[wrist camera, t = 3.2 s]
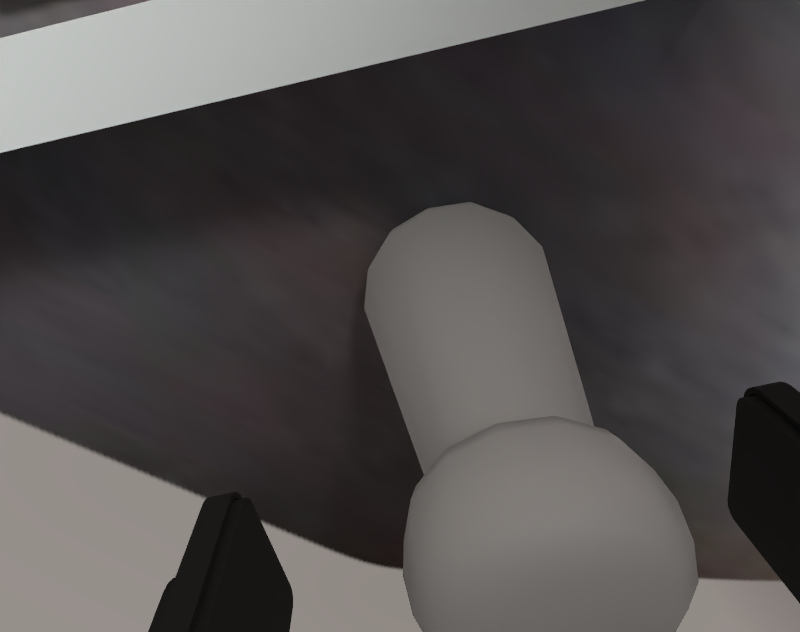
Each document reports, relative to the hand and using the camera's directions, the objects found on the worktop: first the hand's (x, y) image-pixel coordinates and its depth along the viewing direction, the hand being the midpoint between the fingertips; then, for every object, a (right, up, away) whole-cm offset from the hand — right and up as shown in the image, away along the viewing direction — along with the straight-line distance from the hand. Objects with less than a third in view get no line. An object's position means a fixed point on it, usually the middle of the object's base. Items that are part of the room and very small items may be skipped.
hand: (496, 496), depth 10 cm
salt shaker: (0, +5, +9) cm, 10 cm away
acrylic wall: (-5, +11, +5) cm, 13 cm away
